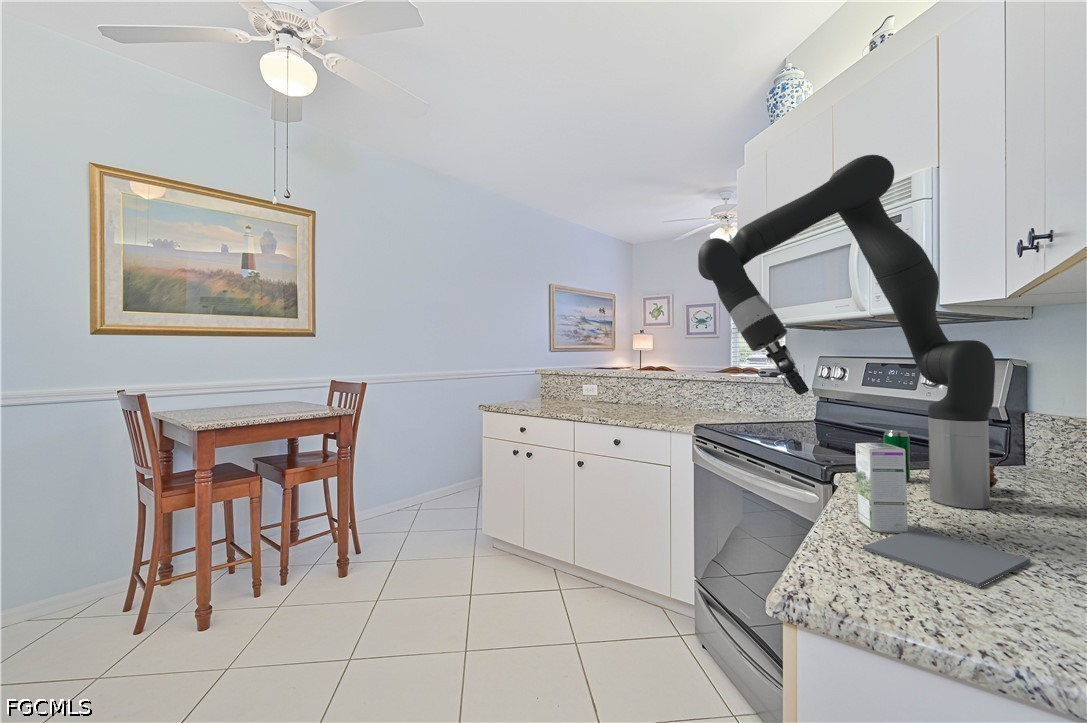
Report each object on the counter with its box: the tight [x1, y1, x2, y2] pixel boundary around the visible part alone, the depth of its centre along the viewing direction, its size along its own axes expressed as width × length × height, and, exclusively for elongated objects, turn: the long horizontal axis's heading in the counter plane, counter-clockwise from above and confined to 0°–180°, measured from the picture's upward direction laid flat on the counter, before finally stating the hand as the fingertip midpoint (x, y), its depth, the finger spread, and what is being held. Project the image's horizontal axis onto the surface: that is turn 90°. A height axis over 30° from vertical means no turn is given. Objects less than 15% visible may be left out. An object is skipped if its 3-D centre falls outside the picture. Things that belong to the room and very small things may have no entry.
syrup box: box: [855, 442, 909, 534], centre depth 82 cm, size 6×6×14 cm
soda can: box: [883, 429, 911, 482], centre depth 114 cm, size 5×5×12 cm
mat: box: [862, 527, 1031, 588], centre depth 70 cm, size 16×14×1 cm
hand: (803, 392), depth 89 cm, fingers open, 8 cm apart
